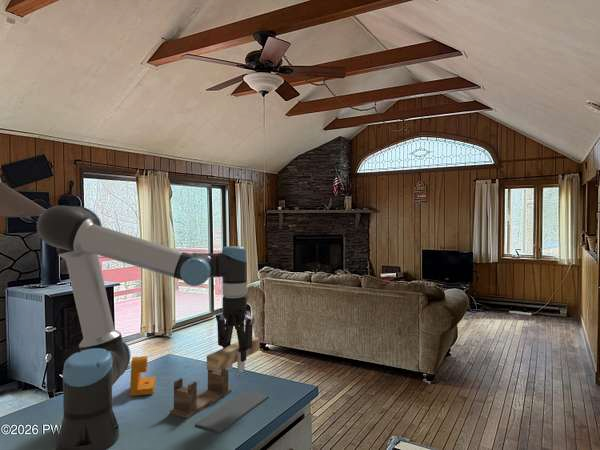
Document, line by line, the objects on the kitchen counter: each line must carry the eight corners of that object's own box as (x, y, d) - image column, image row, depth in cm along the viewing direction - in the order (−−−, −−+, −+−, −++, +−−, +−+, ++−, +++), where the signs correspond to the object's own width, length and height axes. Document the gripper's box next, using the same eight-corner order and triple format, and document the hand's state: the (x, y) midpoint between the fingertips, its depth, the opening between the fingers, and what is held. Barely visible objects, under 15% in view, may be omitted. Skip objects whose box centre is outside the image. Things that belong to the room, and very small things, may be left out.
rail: (217, 371, 117) (217, 357, 117) (206, 369, 119) (206, 355, 119) (259, 349, 137) (259, 338, 137) (249, 348, 139) (249, 336, 139)
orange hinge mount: (152, 396, 139) (152, 361, 138) (130, 398, 137) (130, 362, 137) (155, 383, 149) (155, 351, 149) (134, 385, 147) (134, 352, 147)
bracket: (186, 418, 123) (186, 387, 123) (169, 413, 126) (169, 382, 126) (231, 391, 142) (231, 364, 142) (215, 387, 145) (215, 361, 145)
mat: (219, 433, 114) (219, 430, 114) (195, 425, 119) (195, 423, 119) (268, 397, 138) (268, 395, 138) (246, 392, 142) (246, 390, 142)
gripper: (264, 296, 127) (264, 370, 127) (220, 291, 135) (220, 361, 135) (250, 300, 120) (250, 378, 121) (205, 295, 128) (205, 369, 129)
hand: (234, 369), depth 128 cm, fingers closed on rail, 4 cm apart
